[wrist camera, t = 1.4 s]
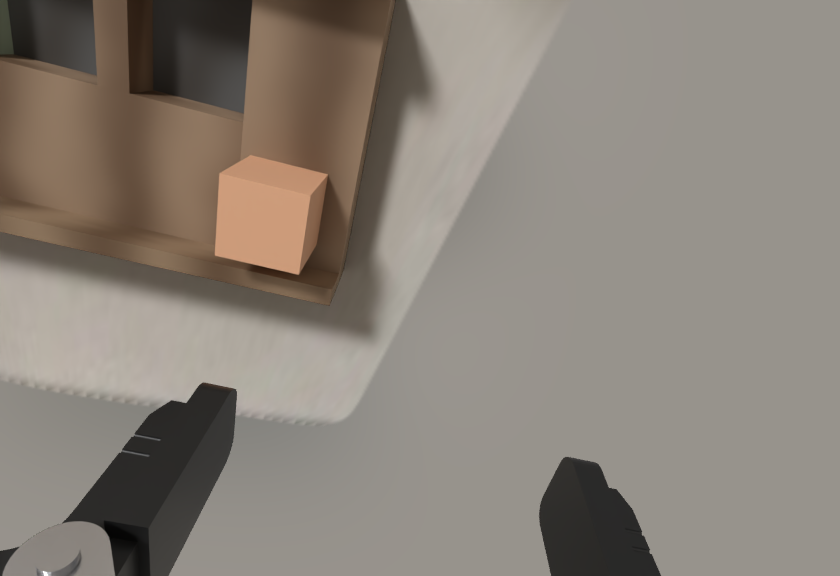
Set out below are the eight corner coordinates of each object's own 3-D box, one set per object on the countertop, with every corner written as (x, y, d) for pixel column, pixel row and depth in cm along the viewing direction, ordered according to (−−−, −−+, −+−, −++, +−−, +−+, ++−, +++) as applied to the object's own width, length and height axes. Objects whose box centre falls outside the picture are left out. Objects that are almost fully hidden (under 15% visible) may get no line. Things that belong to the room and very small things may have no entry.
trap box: (-81, 173, 27) (-169, 194, 23) (-164, -187, 20) (-309, -245, 16) (343, 271, 30) (329, 305, 26) (400, -23, 23) (393, -38, 19)
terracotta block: (244, 227, 26) (214, 255, 22) (250, 155, 24) (219, 173, 21) (316, 244, 26) (298, 274, 23) (328, 174, 25) (310, 195, 21)
